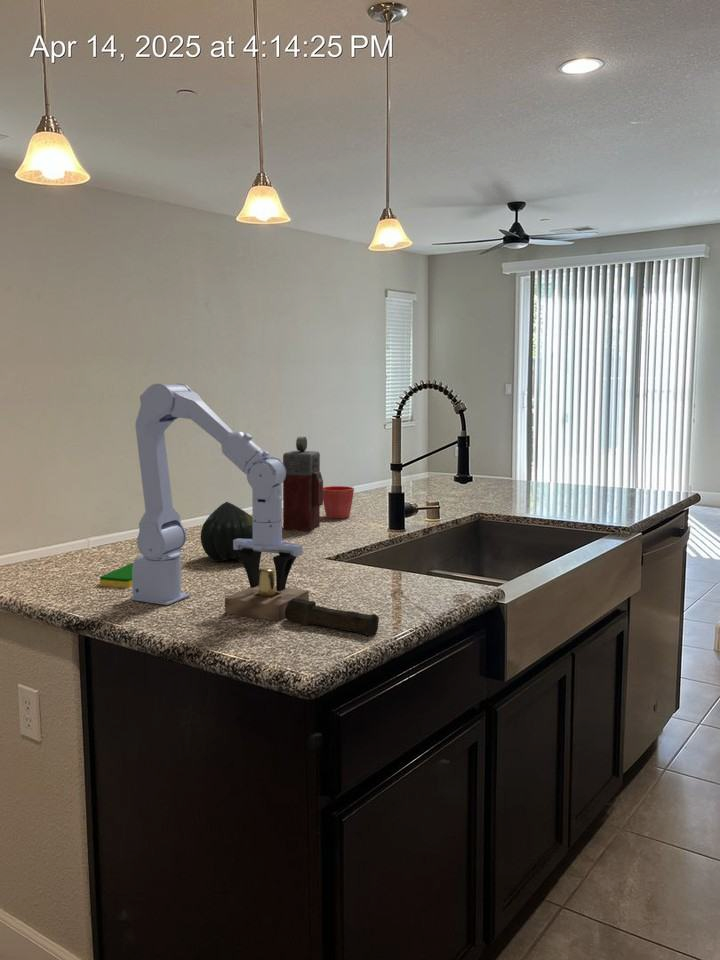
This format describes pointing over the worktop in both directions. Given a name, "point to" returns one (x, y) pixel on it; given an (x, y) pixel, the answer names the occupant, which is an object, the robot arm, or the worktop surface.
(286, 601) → the socket block
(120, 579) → the dish sponge
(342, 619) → the hand tool
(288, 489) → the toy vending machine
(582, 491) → the worktop surface
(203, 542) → the squash
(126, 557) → the worktop surface
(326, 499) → the flower pot
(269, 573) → the brass peg
